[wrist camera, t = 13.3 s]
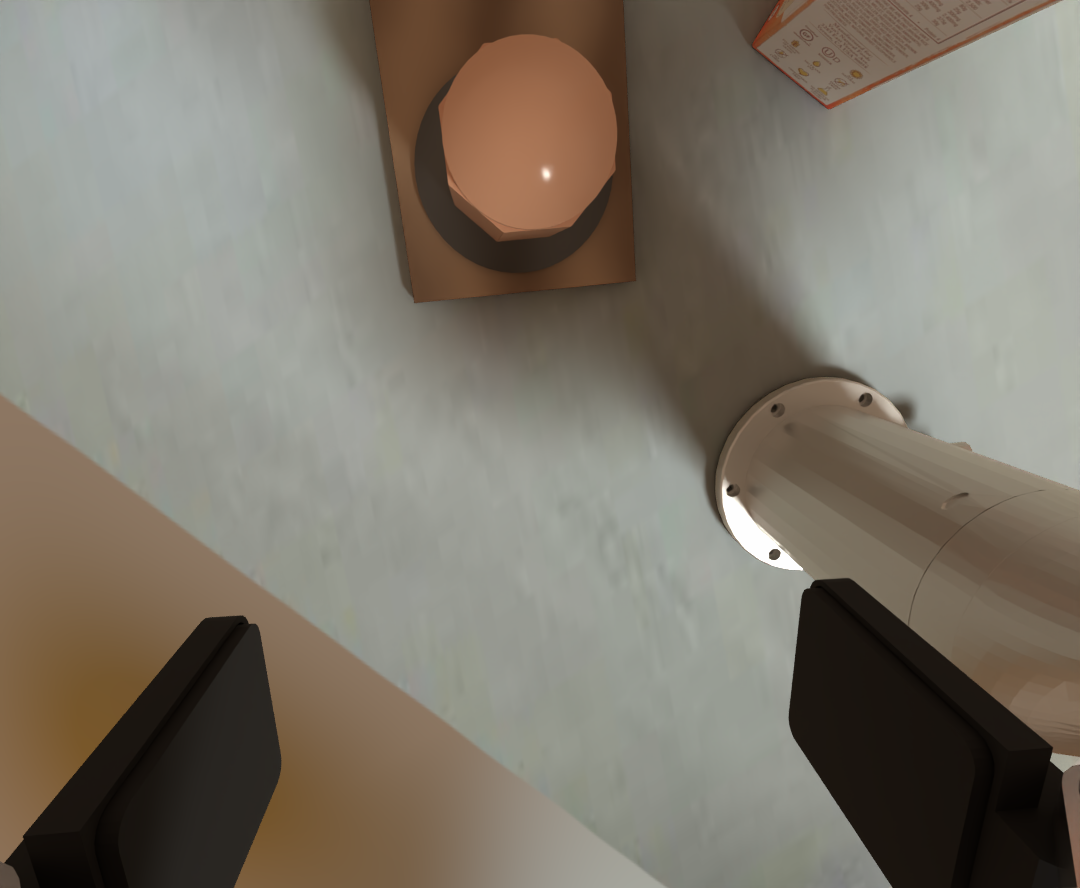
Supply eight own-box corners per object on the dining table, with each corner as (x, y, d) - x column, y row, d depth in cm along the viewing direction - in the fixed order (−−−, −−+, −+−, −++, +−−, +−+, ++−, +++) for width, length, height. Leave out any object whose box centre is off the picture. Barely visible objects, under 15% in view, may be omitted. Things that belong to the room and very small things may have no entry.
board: (606, -214, 27) (614, -243, 26) (630, 280, 34) (637, 281, 32) (341, -205, 27) (333, -234, 25) (416, 301, 33) (413, 303, 31)
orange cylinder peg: (576, 91, 29) (612, 28, 22) (585, 233, 31) (621, 221, 24) (441, 101, 29) (429, 40, 21) (459, 245, 31) (454, 236, 23)
